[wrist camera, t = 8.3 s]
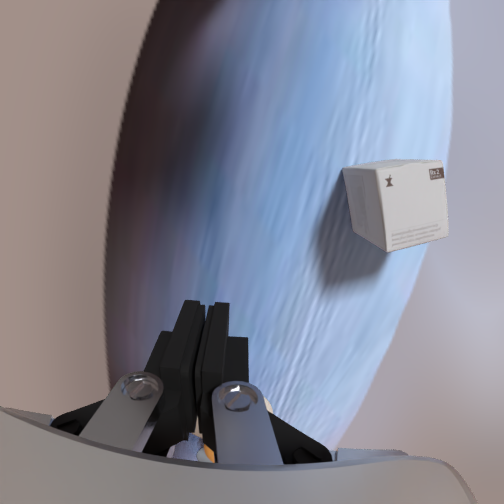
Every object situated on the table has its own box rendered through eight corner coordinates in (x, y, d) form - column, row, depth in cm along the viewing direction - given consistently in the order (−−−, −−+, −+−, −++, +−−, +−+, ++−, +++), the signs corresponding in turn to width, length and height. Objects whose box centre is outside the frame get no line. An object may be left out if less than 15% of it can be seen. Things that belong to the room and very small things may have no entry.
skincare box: (351, 232, 26) (385, 255, 19) (340, 166, 25) (374, 168, 18) (406, 219, 26) (450, 238, 19) (398, 157, 24) (443, 158, 17)
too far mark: (195, 441, 34) (195, 442, 34) (253, 445, 35) (253, 446, 34) (198, 468, 36) (198, 469, 36) (249, 471, 37) (249, 472, 37)
